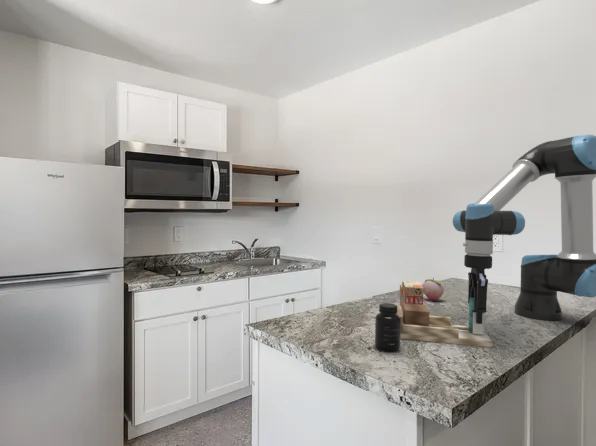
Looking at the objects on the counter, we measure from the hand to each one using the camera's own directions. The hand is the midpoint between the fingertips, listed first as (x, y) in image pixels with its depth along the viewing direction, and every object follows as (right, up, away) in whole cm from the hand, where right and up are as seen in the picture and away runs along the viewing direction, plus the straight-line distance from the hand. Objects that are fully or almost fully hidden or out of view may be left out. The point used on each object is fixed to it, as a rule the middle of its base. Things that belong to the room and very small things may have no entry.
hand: (475, 331), depth 110 cm
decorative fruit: (+5, -1, +49) cm, 49 cm away
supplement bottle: (-29, -2, -9) cm, 31 cm away
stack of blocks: (-12, -2, +27) cm, 29 cm away
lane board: (-10, -2, +2) cm, 10 cm away
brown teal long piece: (-9, 0, +2) cm, 10 cm away
